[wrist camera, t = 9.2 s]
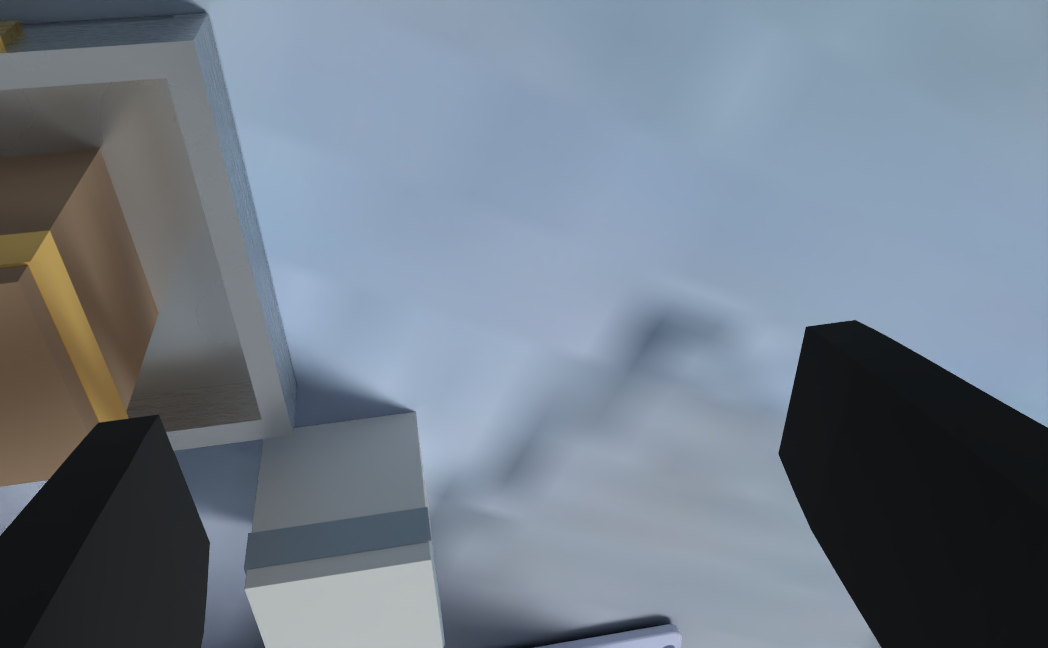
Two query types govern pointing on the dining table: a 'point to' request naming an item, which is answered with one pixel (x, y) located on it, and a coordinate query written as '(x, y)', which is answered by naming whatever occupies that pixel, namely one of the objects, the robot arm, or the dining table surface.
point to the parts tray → (165, 208)
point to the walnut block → (65, 309)
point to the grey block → (344, 539)
